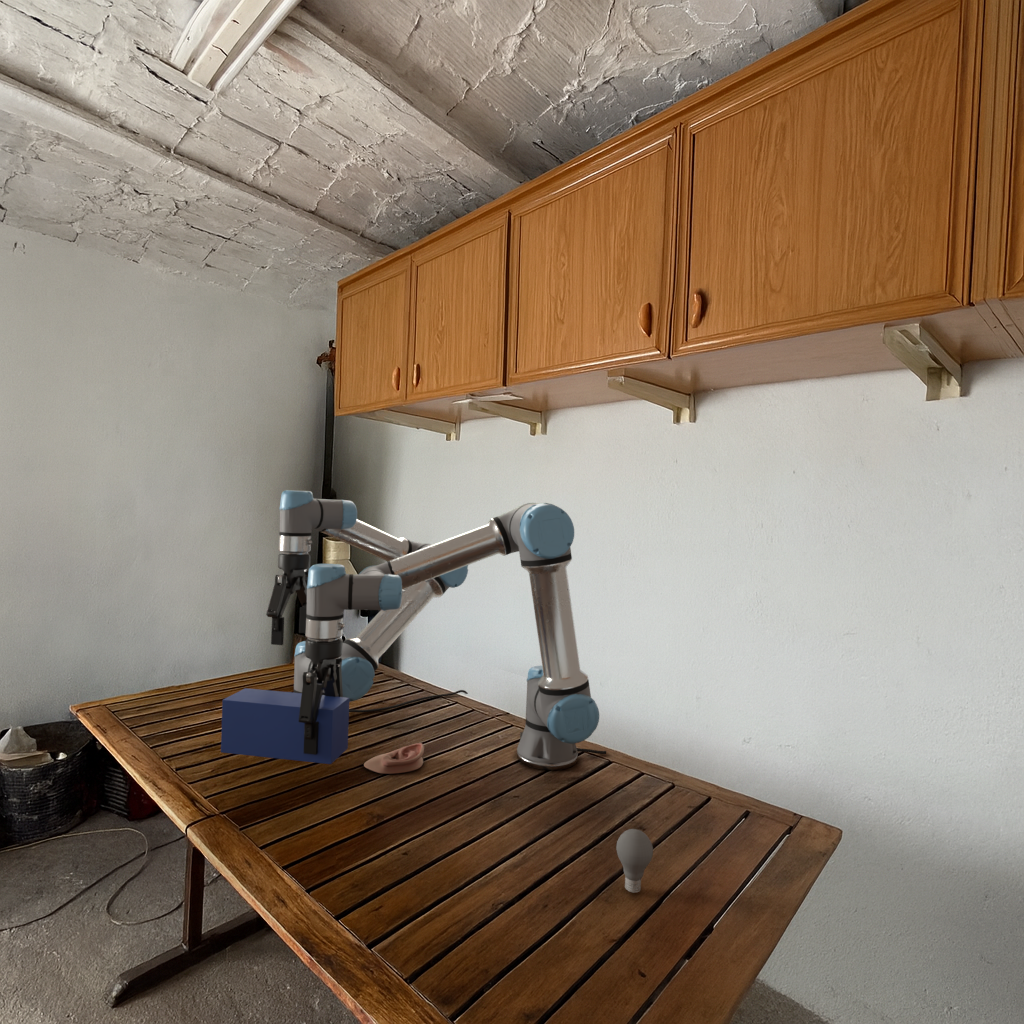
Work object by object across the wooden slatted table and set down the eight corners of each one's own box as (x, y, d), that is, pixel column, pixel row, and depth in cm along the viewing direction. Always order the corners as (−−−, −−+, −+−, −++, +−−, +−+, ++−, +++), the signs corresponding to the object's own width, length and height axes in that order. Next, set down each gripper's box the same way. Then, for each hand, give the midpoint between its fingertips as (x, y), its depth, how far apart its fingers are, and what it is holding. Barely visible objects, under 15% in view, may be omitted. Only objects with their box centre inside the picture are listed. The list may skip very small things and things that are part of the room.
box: (220, 752, 132) (222, 699, 132) (243, 737, 141) (245, 688, 140) (330, 764, 129) (332, 710, 128) (347, 748, 137) (349, 697, 137)
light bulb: (610, 879, 108) (613, 822, 108) (644, 879, 109) (647, 822, 109) (619, 902, 102) (622, 840, 102) (655, 901, 103) (658, 840, 103)
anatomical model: (358, 753, 147) (378, 735, 158) (357, 770, 147) (378, 751, 158) (412, 760, 144) (429, 742, 155) (412, 778, 144) (428, 758, 155)
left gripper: (283, 557, 143) (279, 651, 144) (330, 550, 168) (327, 629, 168) (252, 556, 144) (249, 648, 145) (304, 548, 169) (301, 627, 169)
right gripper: (318, 650, 122) (314, 767, 122) (360, 629, 143) (357, 728, 143) (281, 647, 123) (278, 763, 123) (329, 626, 144) (326, 725, 144)
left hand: (291, 638), depth 157 cm, fingers open, 13 cm apart
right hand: (320, 744), depth 133 cm, fingers closed on box, 8 cm apart
